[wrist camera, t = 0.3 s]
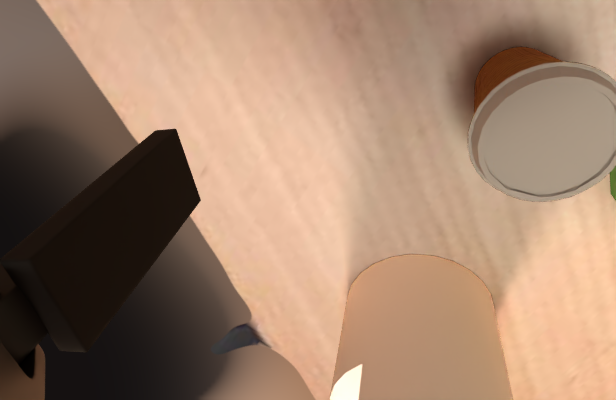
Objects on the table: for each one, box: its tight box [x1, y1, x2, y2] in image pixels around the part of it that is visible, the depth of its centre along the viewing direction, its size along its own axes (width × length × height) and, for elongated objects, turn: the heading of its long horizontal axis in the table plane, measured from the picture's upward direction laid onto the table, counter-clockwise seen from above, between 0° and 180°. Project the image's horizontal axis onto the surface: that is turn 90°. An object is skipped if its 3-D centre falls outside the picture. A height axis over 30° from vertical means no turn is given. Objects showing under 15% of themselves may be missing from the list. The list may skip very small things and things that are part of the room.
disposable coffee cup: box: [468, 47, 616, 202], centre depth 32 cm, size 10×10×12 cm
